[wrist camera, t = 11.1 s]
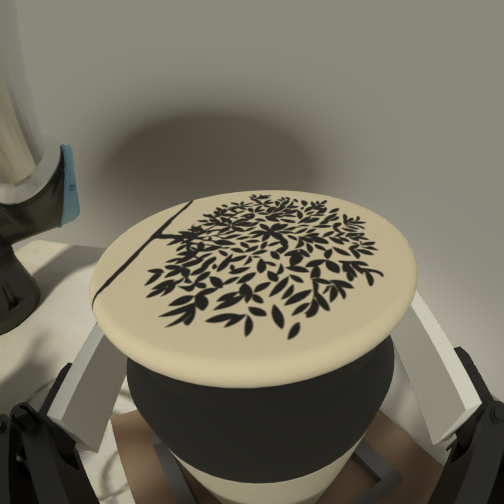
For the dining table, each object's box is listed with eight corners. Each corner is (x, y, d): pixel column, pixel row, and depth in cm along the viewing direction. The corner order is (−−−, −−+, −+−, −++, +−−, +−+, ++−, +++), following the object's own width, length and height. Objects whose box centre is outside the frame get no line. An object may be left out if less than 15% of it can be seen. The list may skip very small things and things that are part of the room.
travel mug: (336, 439, 17) (402, 196, 8) (310, 532, 11) (469, 425, 2) (236, 418, 20) (189, 185, 11) (195, 501, 13) (17, 303, 4)
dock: (114, 423, 20) (105, 412, 19) (304, 346, 27) (305, 332, 27) (208, 621, 4) (201, 626, 3) (447, 479, 12) (459, 470, 11)
